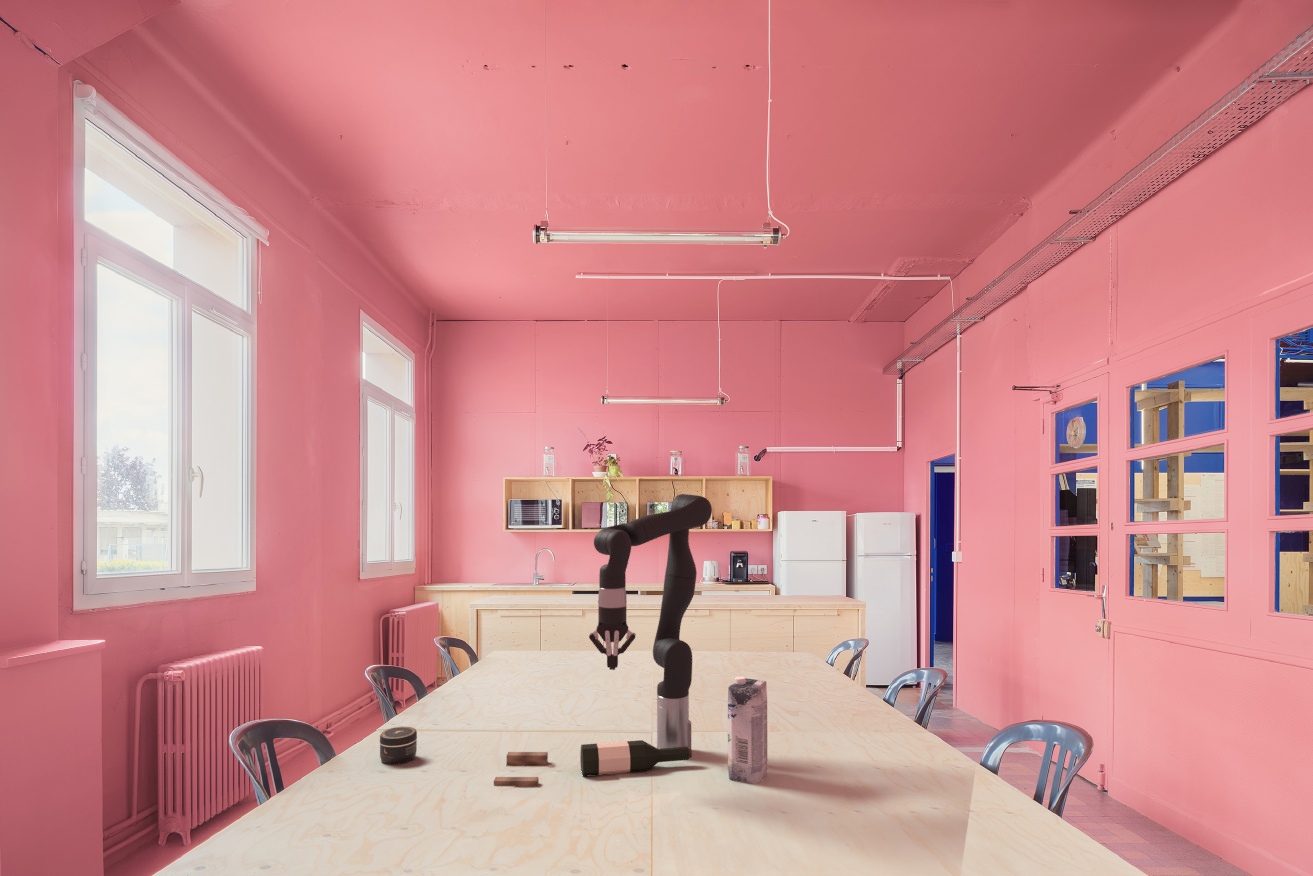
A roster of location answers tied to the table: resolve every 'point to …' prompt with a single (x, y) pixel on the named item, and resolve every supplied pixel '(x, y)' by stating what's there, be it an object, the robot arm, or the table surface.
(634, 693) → the table surface
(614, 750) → the wine bottle
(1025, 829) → the table surface
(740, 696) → the juice carton
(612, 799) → the table surface
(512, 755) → the u rest
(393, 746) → the jar
